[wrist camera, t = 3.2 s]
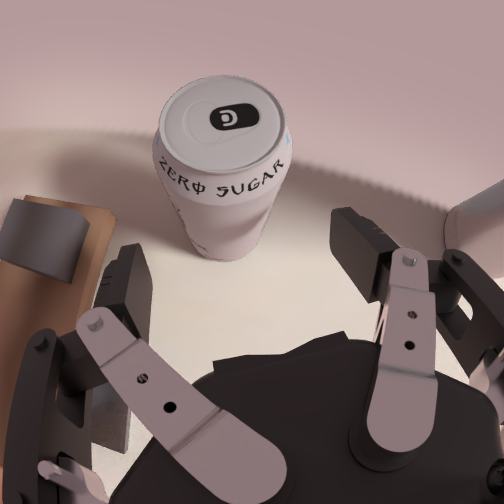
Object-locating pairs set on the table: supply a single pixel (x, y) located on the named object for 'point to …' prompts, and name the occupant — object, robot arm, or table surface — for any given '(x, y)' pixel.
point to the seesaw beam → (45, 279)
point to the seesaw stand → (110, 419)
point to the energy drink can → (223, 161)
